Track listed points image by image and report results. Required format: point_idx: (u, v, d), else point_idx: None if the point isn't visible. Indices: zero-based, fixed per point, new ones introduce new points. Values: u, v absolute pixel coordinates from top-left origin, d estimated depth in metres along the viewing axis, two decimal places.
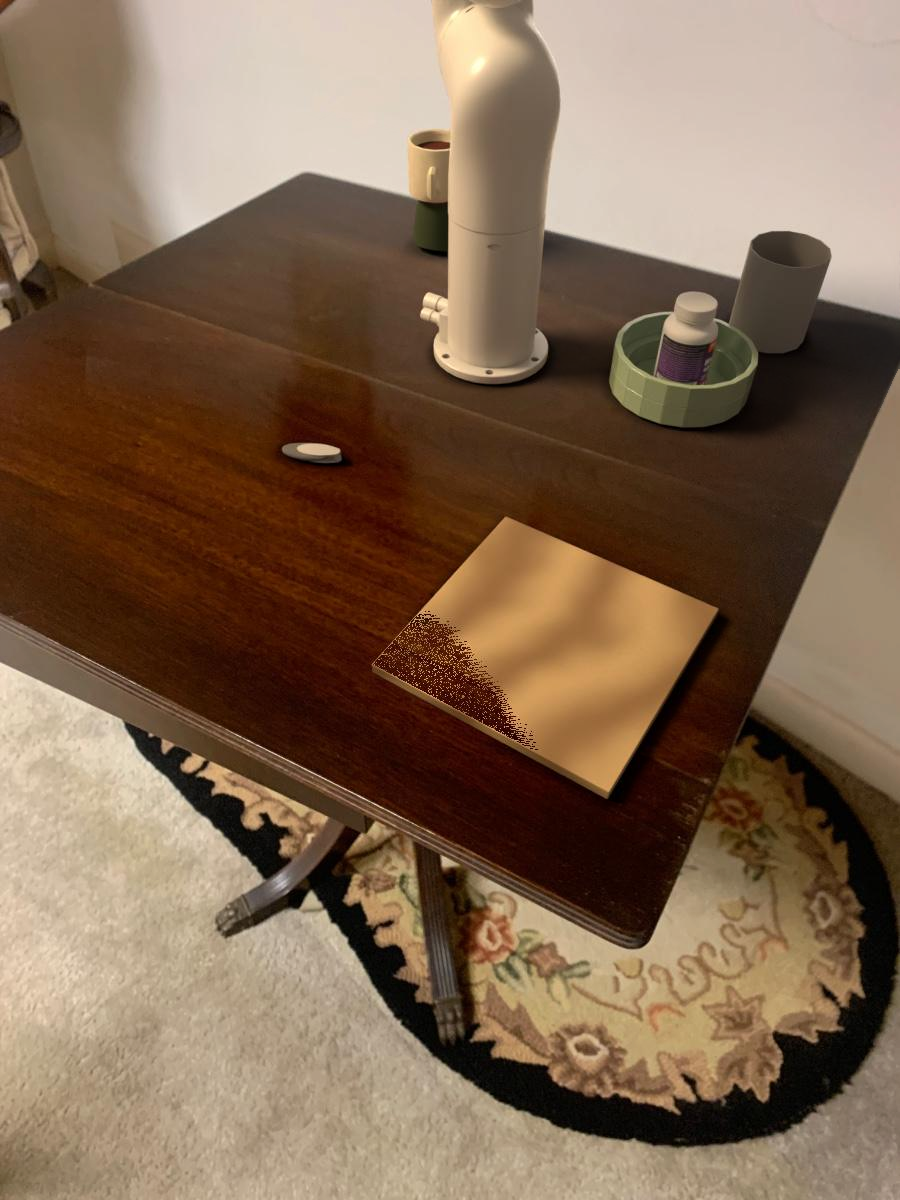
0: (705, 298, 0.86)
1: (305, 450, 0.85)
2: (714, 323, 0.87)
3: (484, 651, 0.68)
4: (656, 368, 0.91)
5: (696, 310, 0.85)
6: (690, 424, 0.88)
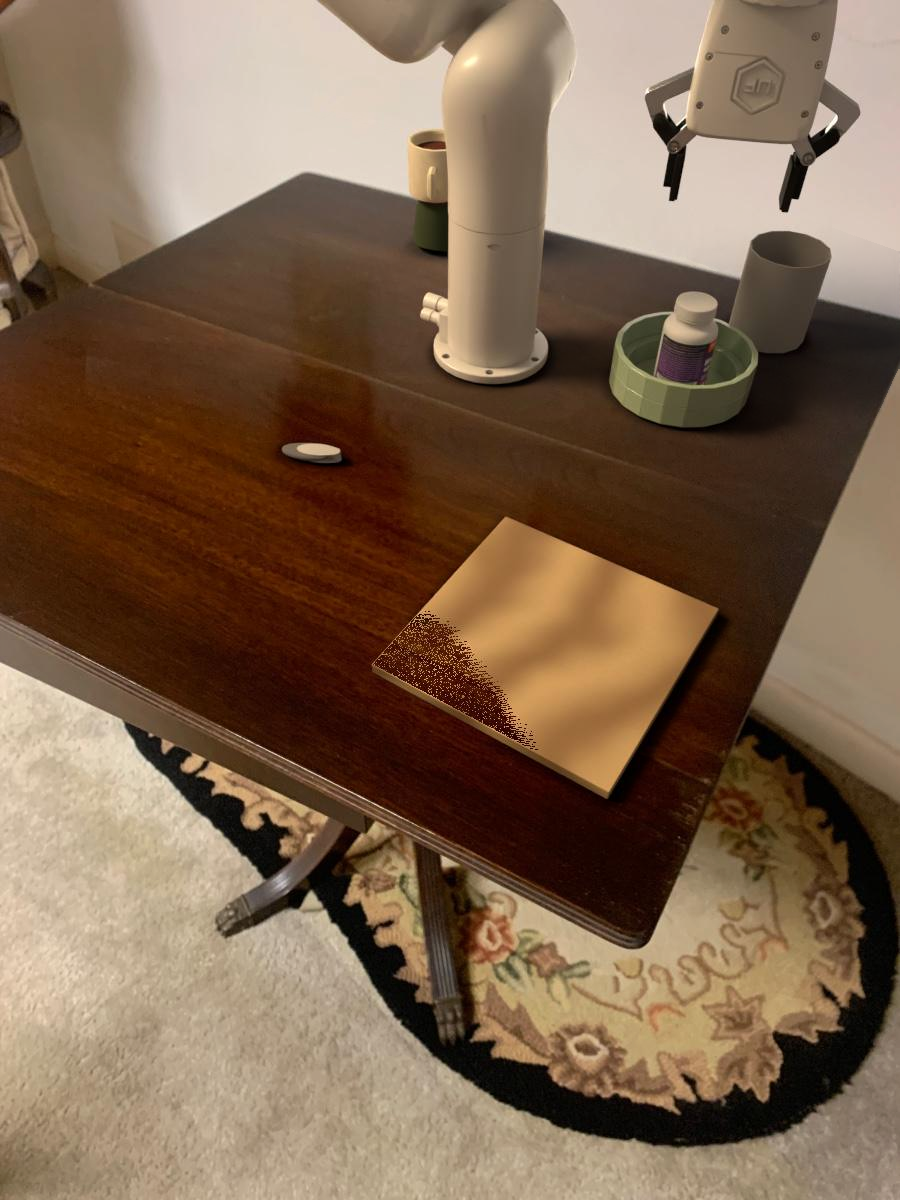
0: (705, 298, 0.86)
1: (305, 450, 0.85)
2: (714, 323, 0.87)
3: (484, 651, 0.68)
4: (656, 368, 0.91)
5: (696, 310, 0.85)
6: (690, 424, 0.88)
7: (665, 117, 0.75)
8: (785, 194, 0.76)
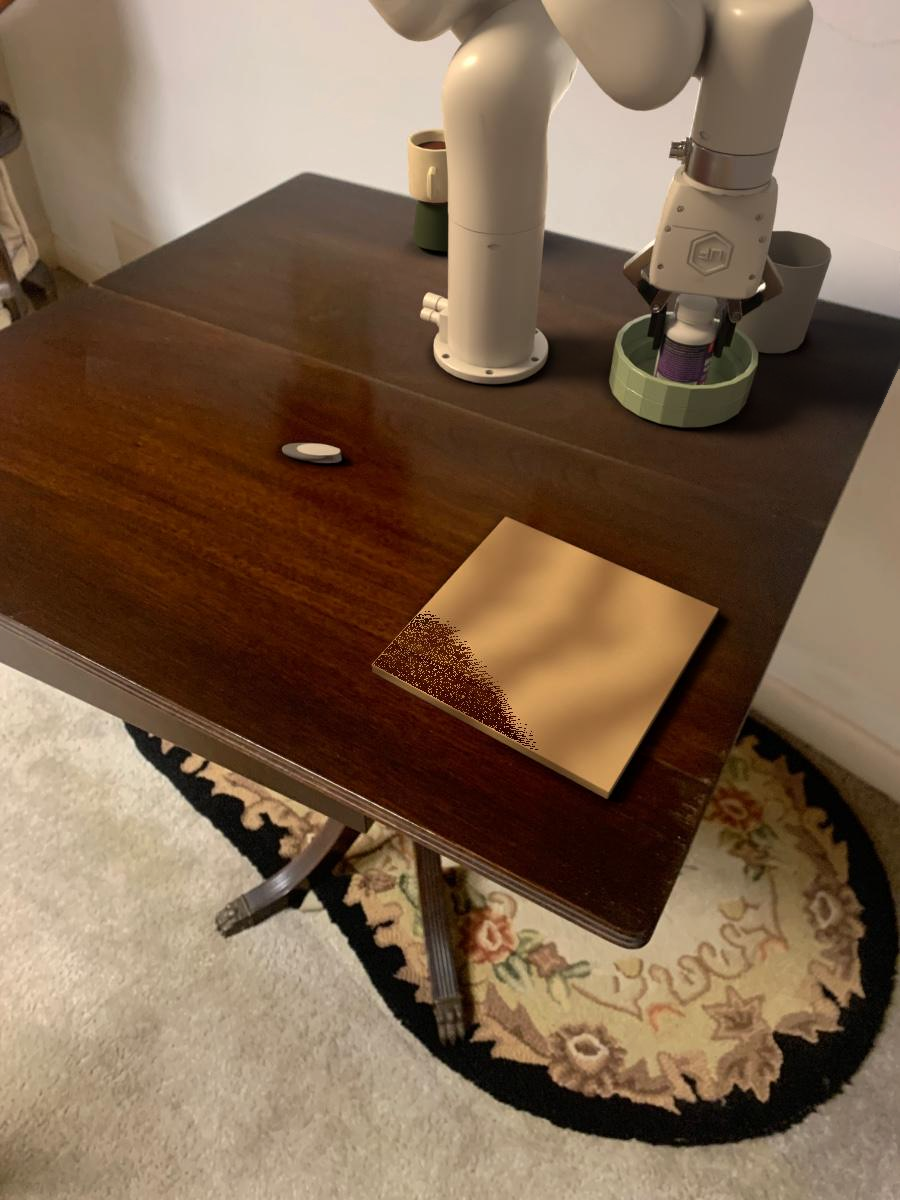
0: (705, 298, 0.86)
1: (305, 450, 0.85)
2: (714, 323, 0.87)
3: (484, 651, 0.68)
4: (656, 368, 0.91)
5: (696, 310, 0.85)
6: (690, 424, 0.88)
7: (648, 283, 0.85)
8: (717, 344, 0.87)
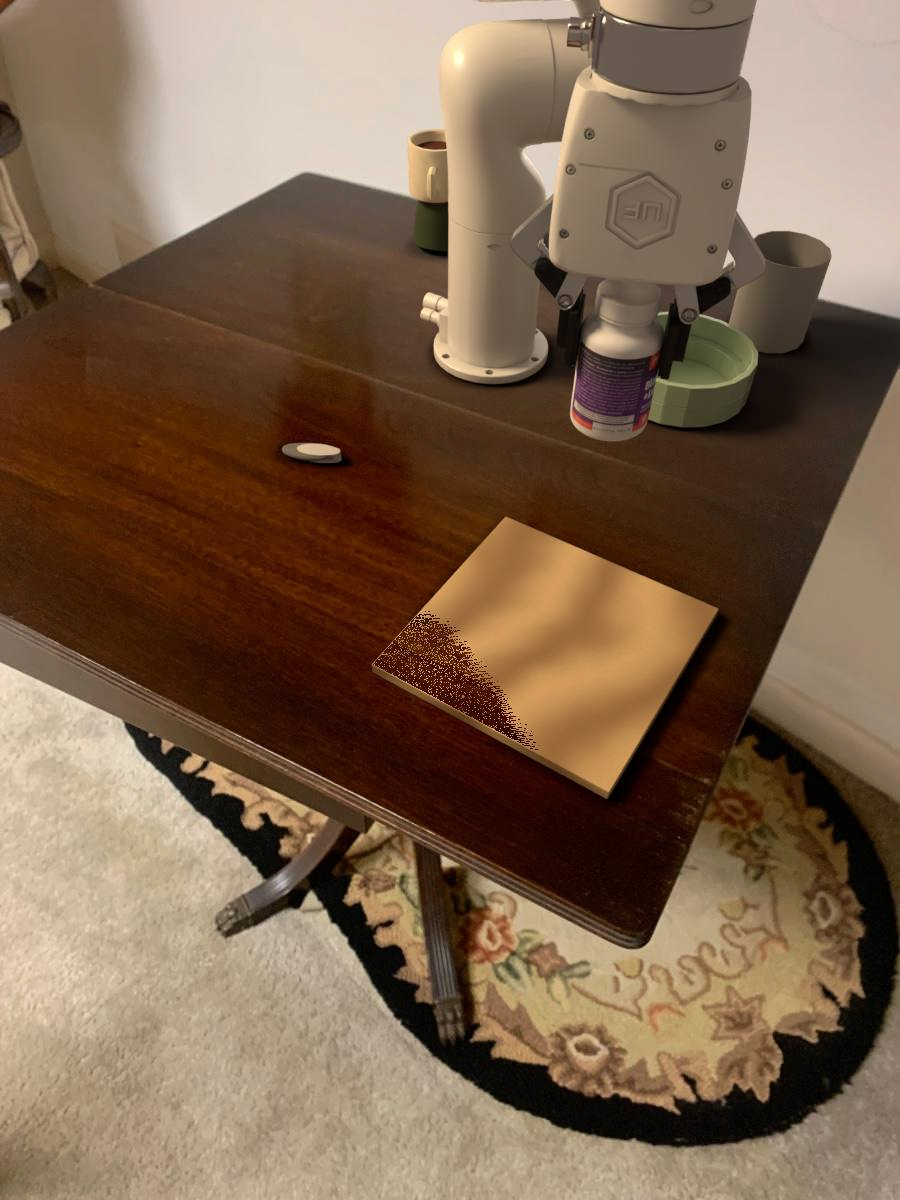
0: (642, 286, 0.55)
1: (305, 450, 0.85)
2: (658, 325, 0.56)
3: (484, 651, 0.68)
4: (573, 394, 0.60)
5: (627, 303, 0.53)
6: (690, 424, 0.88)
7: (551, 262, 0.54)
8: (663, 358, 0.56)
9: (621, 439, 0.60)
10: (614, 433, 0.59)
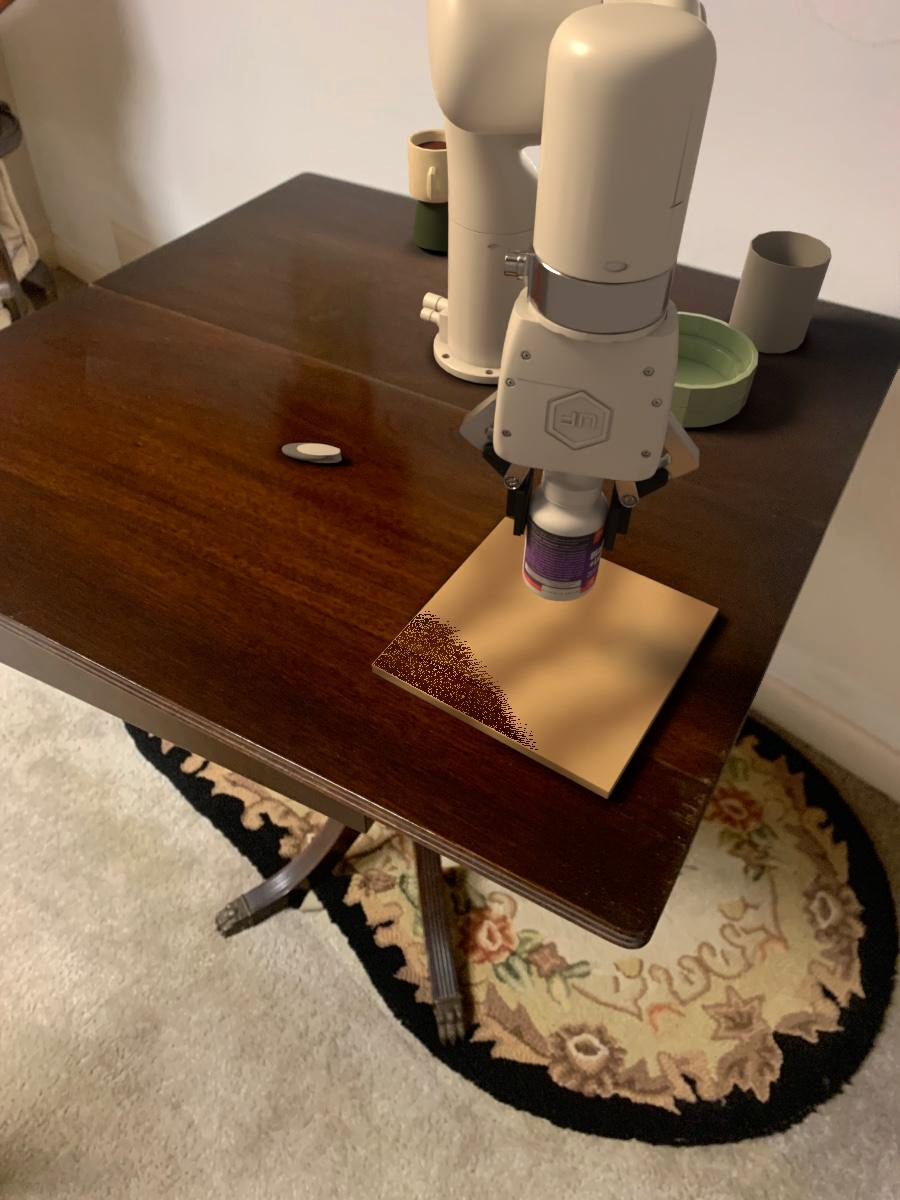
0: None
1: (305, 450, 0.85)
2: (602, 501, 0.59)
3: (484, 651, 0.68)
4: (524, 556, 0.62)
5: (570, 489, 0.56)
6: (690, 424, 0.88)
7: None
8: (606, 533, 0.58)
9: (569, 600, 0.62)
10: (562, 595, 0.62)
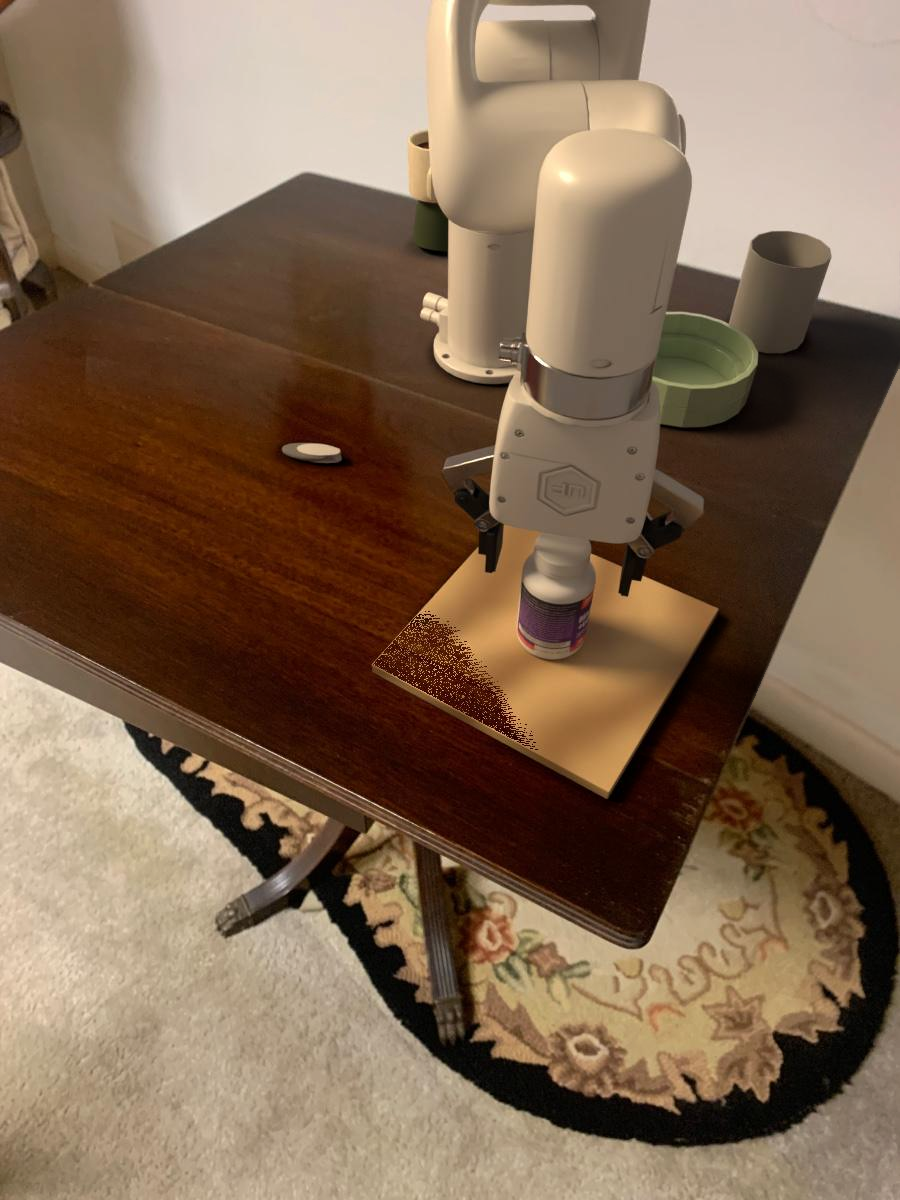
0: (575, 540, 0.62)
1: (305, 450, 0.85)
2: (589, 570, 0.63)
3: (484, 651, 0.68)
4: (518, 617, 0.67)
5: (559, 562, 0.61)
6: (690, 424, 0.88)
7: (469, 493, 0.60)
8: (622, 581, 0.61)
9: (560, 658, 0.67)
10: (553, 654, 0.67)
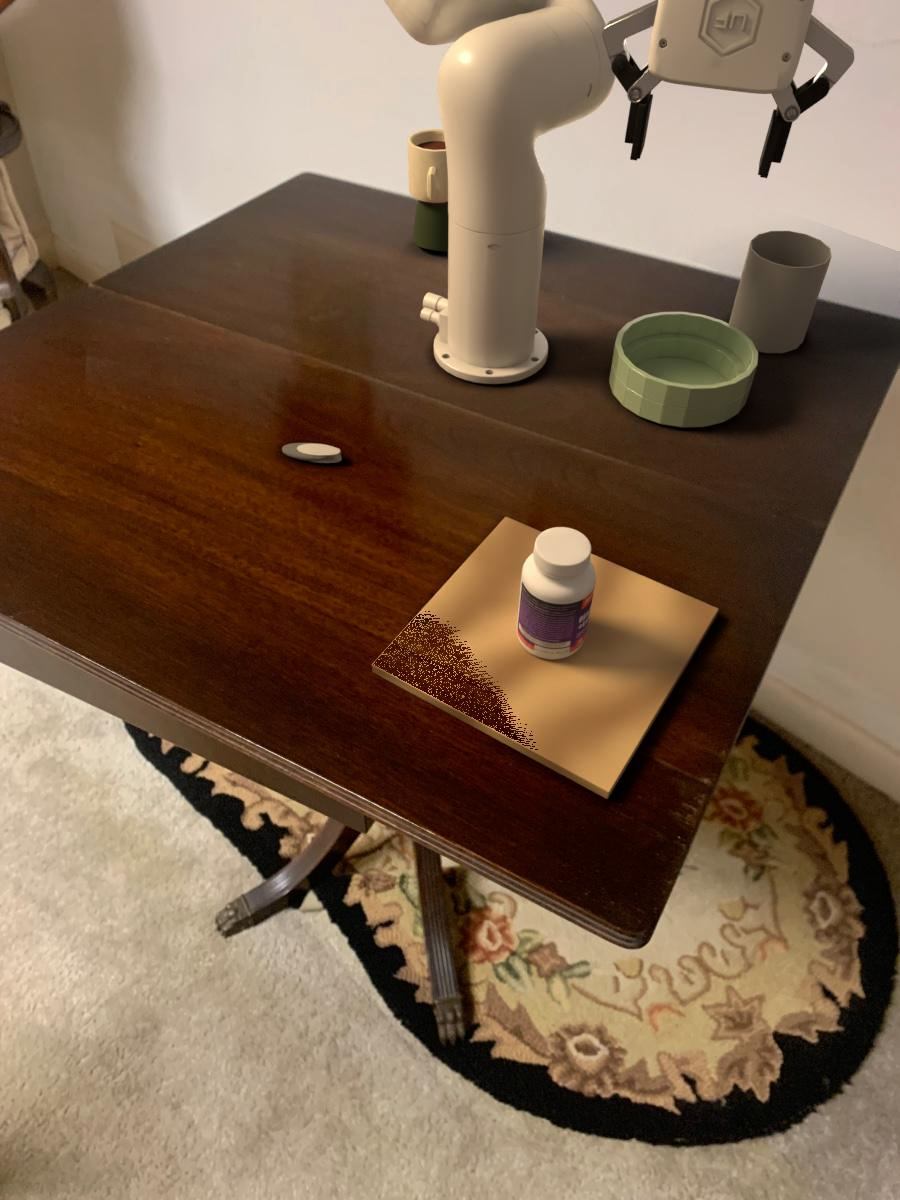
0: (575, 540, 0.62)
1: (305, 450, 0.85)
2: (589, 570, 0.63)
3: (484, 651, 0.68)
4: (518, 617, 0.67)
5: (559, 562, 0.61)
6: (690, 424, 0.88)
7: (626, 58, 0.64)
8: (764, 155, 0.65)
9: (560, 658, 0.67)
10: (553, 654, 0.67)
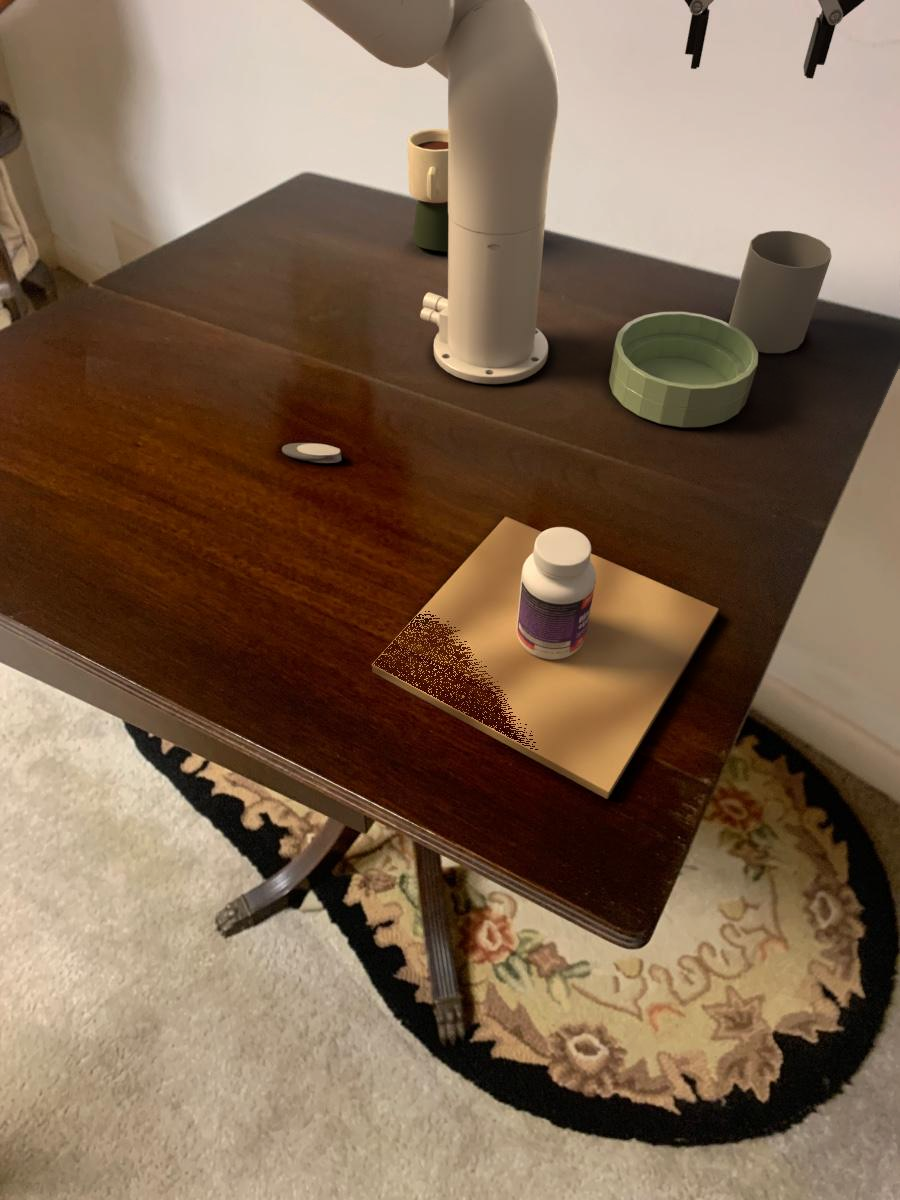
0: (575, 540, 0.62)
1: (305, 450, 0.85)
2: (589, 570, 0.63)
3: (484, 651, 0.68)
4: (518, 617, 0.67)
5: (559, 562, 0.61)
6: (690, 424, 0.88)
7: None
8: (811, 57, 0.74)
9: (560, 658, 0.67)
10: (553, 654, 0.67)
